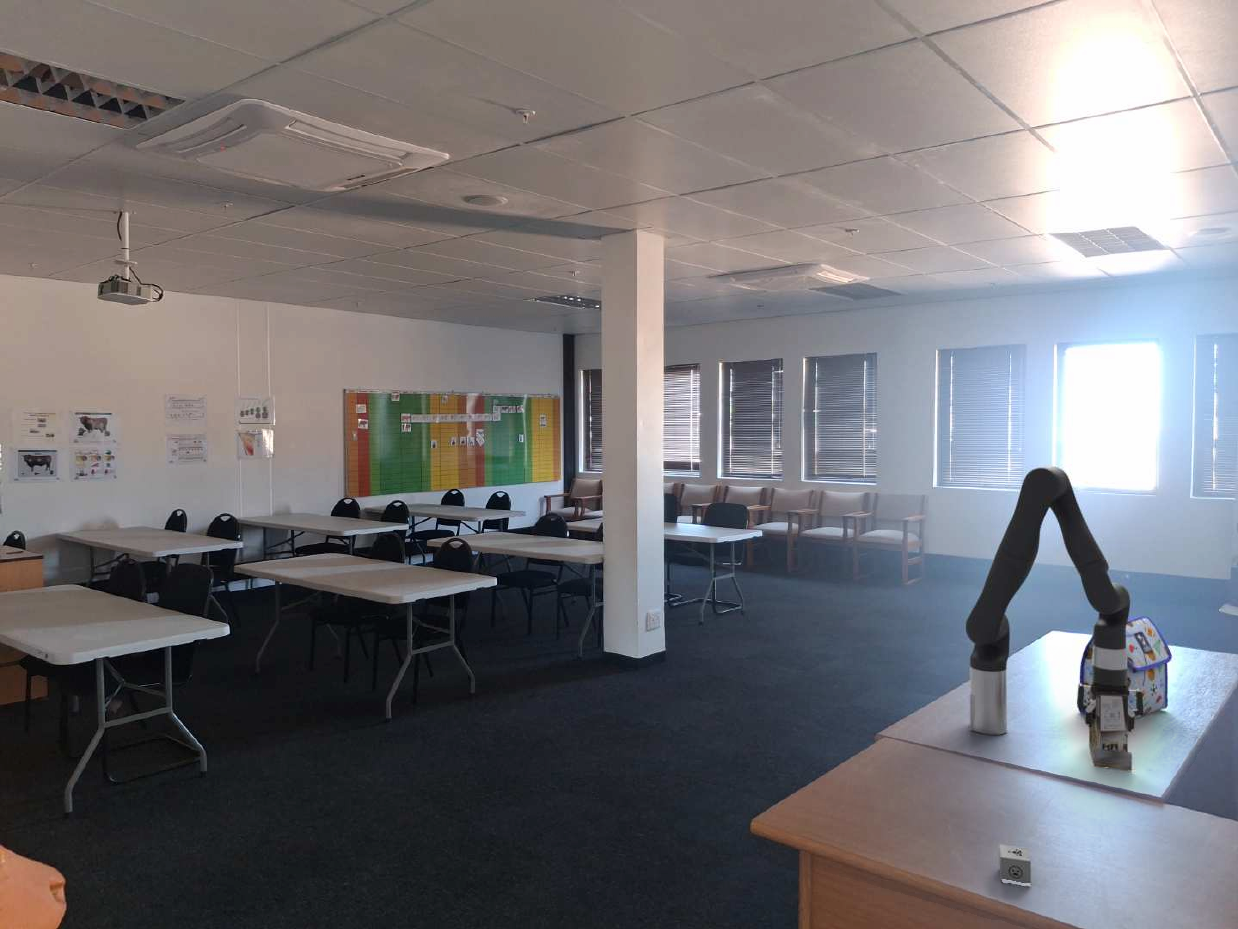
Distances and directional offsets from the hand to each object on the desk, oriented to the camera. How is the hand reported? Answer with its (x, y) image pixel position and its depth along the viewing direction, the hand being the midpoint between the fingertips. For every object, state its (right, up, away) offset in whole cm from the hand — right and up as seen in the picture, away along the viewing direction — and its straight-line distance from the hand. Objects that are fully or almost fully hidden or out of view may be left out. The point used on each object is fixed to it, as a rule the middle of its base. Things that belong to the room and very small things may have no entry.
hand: (1109, 728), depth 213 cm
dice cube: (-48, -12, -53) cm, 73 cm away
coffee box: (0, -7, 0) cm, 7 cm away
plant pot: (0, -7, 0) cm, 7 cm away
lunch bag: (+22, -6, +32) cm, 39 cm away
